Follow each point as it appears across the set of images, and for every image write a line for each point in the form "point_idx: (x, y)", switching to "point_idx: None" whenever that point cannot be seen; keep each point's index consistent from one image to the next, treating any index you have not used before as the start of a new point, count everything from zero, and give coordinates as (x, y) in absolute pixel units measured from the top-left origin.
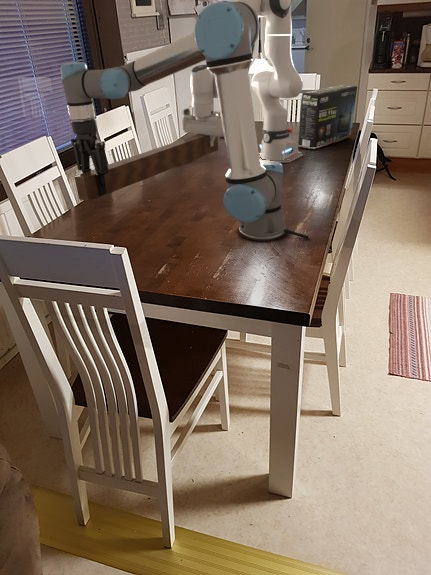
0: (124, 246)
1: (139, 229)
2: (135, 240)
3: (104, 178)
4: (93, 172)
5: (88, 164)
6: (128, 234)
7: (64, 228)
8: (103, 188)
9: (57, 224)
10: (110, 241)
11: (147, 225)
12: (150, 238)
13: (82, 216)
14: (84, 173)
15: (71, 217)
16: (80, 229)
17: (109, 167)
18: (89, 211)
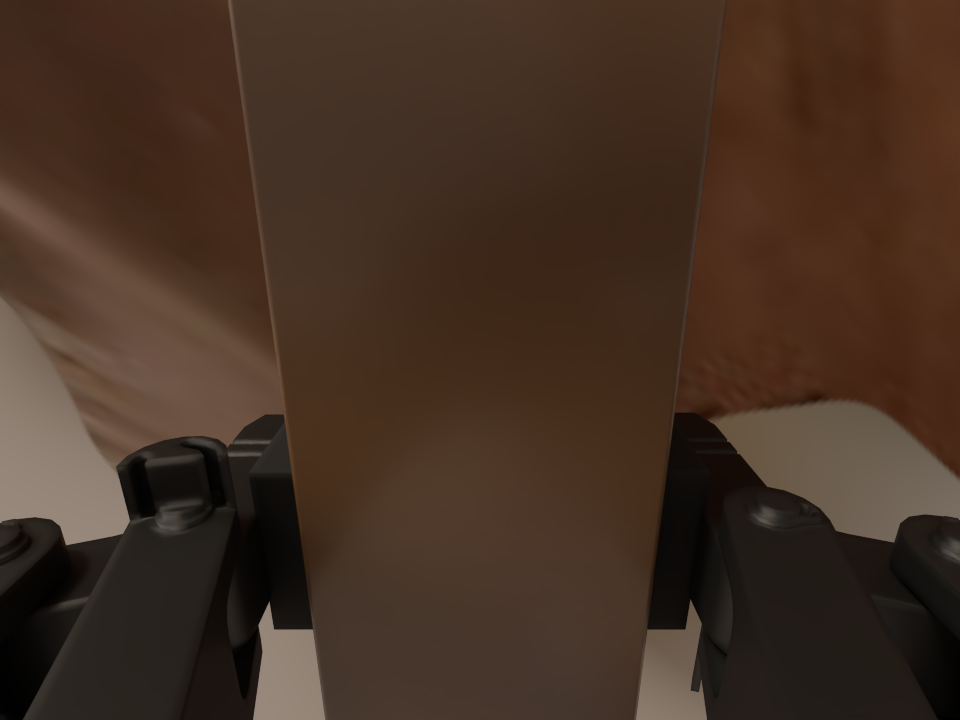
0: (811, 399)
1: (746, 138)
2: (829, 300)
3: (748, 477)
4: (507, 598)
5: (211, 673)
6: (722, 255)
7: (241, 423)
8: None
9: (133, 406)
10: (679, 397)
11: (761, 32)
12: (916, 219)
13: (129, 201)
14: (381, 714)
15: (79, 266)
16: None
17: (563, 57)
18: (62, 81)
